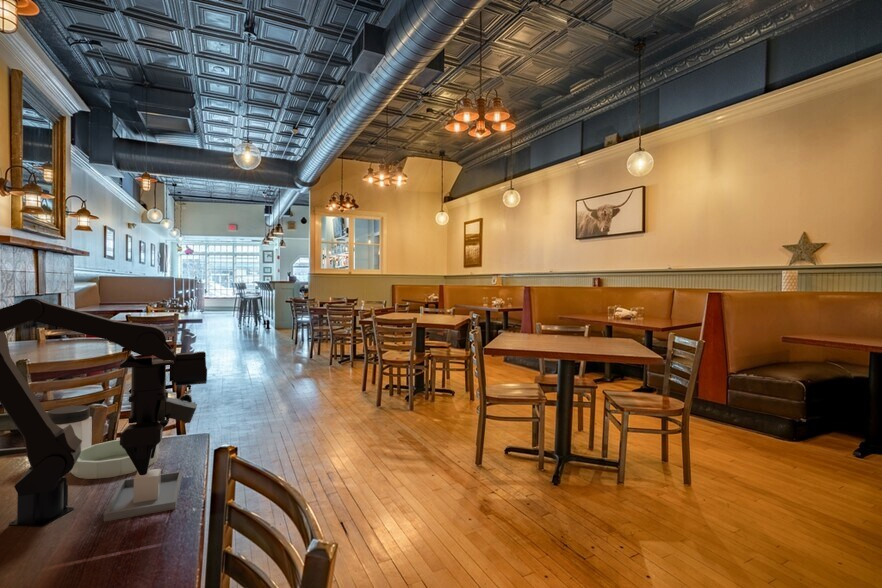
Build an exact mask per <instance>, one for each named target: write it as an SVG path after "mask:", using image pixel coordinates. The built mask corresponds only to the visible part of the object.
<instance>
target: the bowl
mask: <svg viewBox="0 0 882 588" xmlns="http://www.w3.org/2000/svg"><path fill="white" fill-rule="evenodd" d="M158 457H159V444H157V446H156V450H155V454H154V458H152V459H150V462H149V467H150V466H151V465H153V464H156V463H157V461H158ZM134 472H138V471H137V469H136V468H135V466H134V464H133V462H132V461H131V459H130V457H129V456H128V454H127V452H126V451H125V449H124V448H122V446H121V445H120V439H115V440H114V439H113V440H109V441H104V442H100V443H96V444H91V446H89V447H87V448H84V449H82V450H81V453H80V456H79V458H78V460H77V461H76V463H75V465H74V466H73V468H72V470H71V471H70V473H71V474H72V475H73V476H74V477H76V478H79V479H85V480H90V479H91V480H93V479H97V480H98V479H105V478H106V479H107V478H108V479H109V478H114V477H119V476H124V475H128V474H131V473H134Z"/></svg>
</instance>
